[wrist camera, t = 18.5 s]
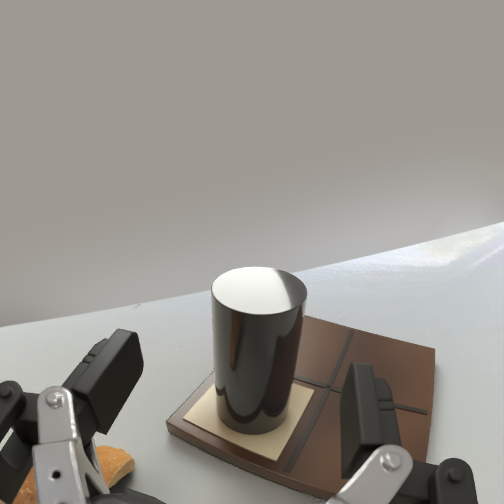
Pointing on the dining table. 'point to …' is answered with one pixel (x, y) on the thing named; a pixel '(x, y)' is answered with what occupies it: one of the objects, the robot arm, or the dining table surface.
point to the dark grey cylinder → (256, 346)
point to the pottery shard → (112, 467)
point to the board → (318, 409)
